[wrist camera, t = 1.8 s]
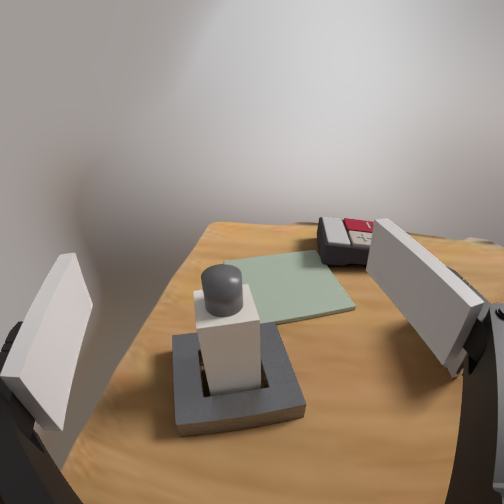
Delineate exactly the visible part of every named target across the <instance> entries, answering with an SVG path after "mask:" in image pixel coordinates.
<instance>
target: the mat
mask: <svg viewBox="0 0 504 504" xmlns="http://www.w3.org/2000/svg"><path fill="white" fill-rule="evenodd" d="M223 264H228V265H233V266H235V267H237V268H239V269H240V271H241V273H242V285H243V284H248V285H249V288H250V291H251V294H252V297H253V300H254V303H255V306H256V309H257V312H258V315H259V318H260V324H261V323H267V322H274V321H275V324H282V323H288V322H294V321H299V320H305V319H310V318H315V317H321V316H326V315H331V314H336V313H341V312H345V311H350V310H355V308H356V306H355V304H354V303H353V301H352V300H351V298H350V297H349V296H348V294H347V293H346V291H345V290H344V289H343V287H342V286H341V284H340V283H339V282H338V280H337V279H336V277H335V276H334V275H333V273H332V272H331V270H330V269H329V268H328V266H327V265H326V264H323V263H322V262H321V257H320V255H319V254H318V253H317V251H316V250H307V251H299V252H292V253H284V254H276V255H268V256H260V257H252V258H244V259H236V260H228V261H223Z"/></svg>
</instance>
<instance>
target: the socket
mask: <svg viewBox="0 0 504 504" xmlns="http://www.w3.org/2000/svg"><path fill="white" fill-rule="evenodd" d="M172 349H173V384H174V405H175V422H176V427H177V429H178V431H179V433H180V435H181V437H184V436H195V435H204V434H212V433H220V432H227V431H234V430H241V429H247V428H253V427H258V426H264V425H269V424H274V423H279V422H284V421H288V420H293V419H297V418H301V417H304V413H305V408H306V402H305V399H304V397H303V394H302V391H301V389H300V386H299V384H298V381H297V378H296V376H295V373H294V371H293V368H292V365H291V363H290V360H289V358H288V355H287V352H286V350H285V347H284V344H283V342H282V339H281V337H280V334H279V331H278V329H277V326H276V324H275V321H274V322H267V323H261V324H260V354H261V374H262V377H263V381H264V384H265V388H263V389H257V390H252V391H246V392H239V393H233V394H226V395H219V396H211V397H205V394H204V386H203V377H202V369H201V365H203V364H204V363H203V358H202V353H201V348H200V343H199V338H198V333H189V334H181V335H172Z"/></svg>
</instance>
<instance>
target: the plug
mask: <svg viewBox="0 0 504 504" xmlns="http://www.w3.org/2000/svg"><path fill="white" fill-rule="evenodd" d="M201 280H202V287H203V290H197V291H193V292H194V305H195V316H196V328H197V333H198V338H199V343H200V348H201V353H202V358H203V363H204V367H205V372H206V377H207V381H208V386H209V390H210V395H211V396H219V395H226V394H233V393H239V392H246V391H252V390H257V389H261V354H260V318H259V315H258V312H257V309H256V306H255V303H254V300H253V297H252V294H251V291H250V288H249V285H248V284H243V285H242V273H241V271H240V269H239V268H237V267H235V266H233V265H228V264H219V265H214V266H211V267H209V268H207V269H206V270H204V271H203V273H202V275H201Z"/></svg>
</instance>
